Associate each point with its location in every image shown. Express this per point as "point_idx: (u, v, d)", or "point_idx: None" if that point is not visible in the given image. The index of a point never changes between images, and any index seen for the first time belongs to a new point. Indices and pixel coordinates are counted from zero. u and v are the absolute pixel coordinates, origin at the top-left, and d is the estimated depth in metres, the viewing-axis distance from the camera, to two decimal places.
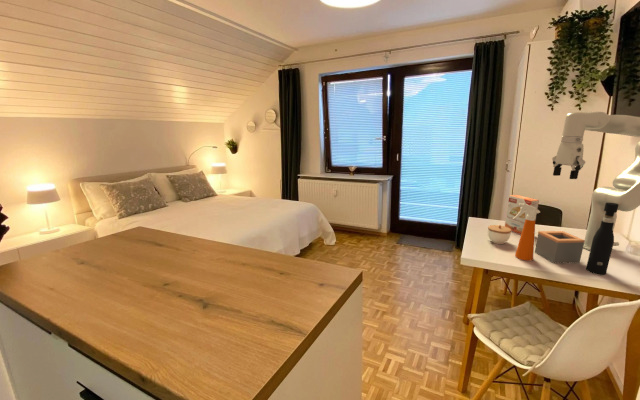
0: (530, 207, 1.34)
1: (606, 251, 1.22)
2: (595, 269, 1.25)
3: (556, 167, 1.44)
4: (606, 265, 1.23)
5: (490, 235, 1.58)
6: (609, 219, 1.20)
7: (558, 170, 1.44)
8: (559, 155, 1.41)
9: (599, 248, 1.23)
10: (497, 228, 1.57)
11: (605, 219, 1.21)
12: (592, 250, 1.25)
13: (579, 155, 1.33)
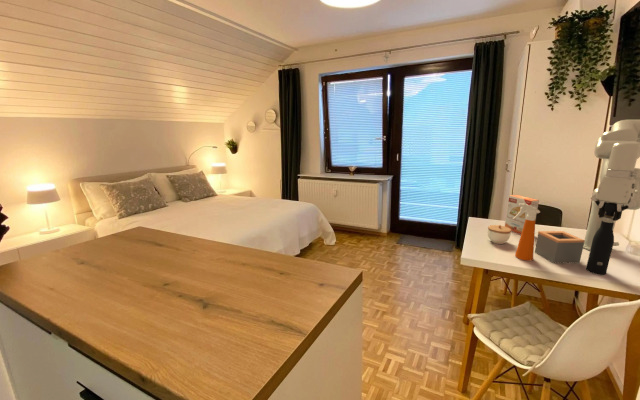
0: (530, 207, 1.34)
1: (606, 251, 1.22)
2: (595, 269, 1.25)
3: (603, 208, 1.22)
4: (606, 265, 1.23)
5: (490, 235, 1.58)
6: (609, 219, 1.20)
7: (604, 211, 1.23)
8: (604, 191, 1.20)
9: (599, 248, 1.23)
10: (497, 228, 1.57)
11: (605, 219, 1.21)
12: (592, 250, 1.25)
13: (632, 192, 1.15)
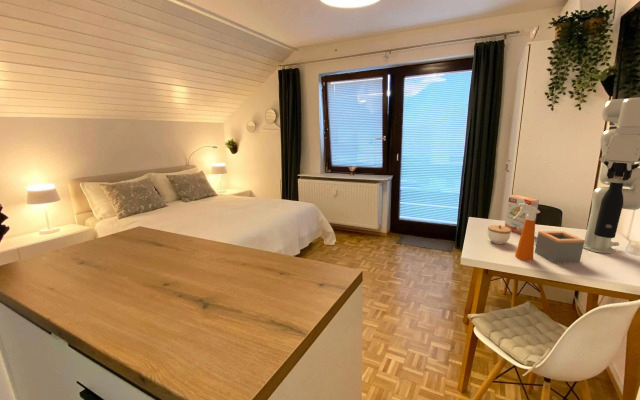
0: (530, 207, 1.34)
1: (615, 213, 1.18)
2: (604, 232, 1.21)
3: (612, 168, 1.18)
4: (615, 228, 1.20)
5: (490, 235, 1.58)
6: (618, 179, 1.16)
7: (613, 172, 1.19)
8: (613, 151, 1.16)
9: (608, 210, 1.19)
10: (497, 228, 1.57)
11: (614, 180, 1.17)
12: (600, 213, 1.22)
13: None
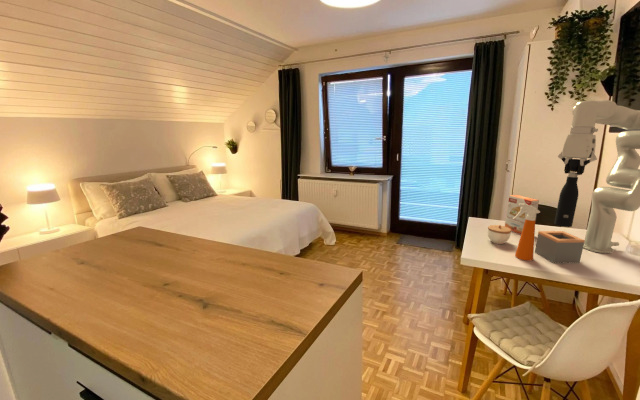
0: (530, 207, 1.34)
1: (571, 204, 1.31)
2: (562, 222, 1.34)
3: (568, 164, 1.32)
4: (571, 217, 1.33)
5: (490, 235, 1.58)
6: (573, 174, 1.30)
7: (569, 167, 1.32)
8: (568, 148, 1.30)
9: (565, 202, 1.32)
10: (497, 228, 1.57)
11: (570, 174, 1.31)
12: (559, 204, 1.35)
13: (593, 147, 1.24)
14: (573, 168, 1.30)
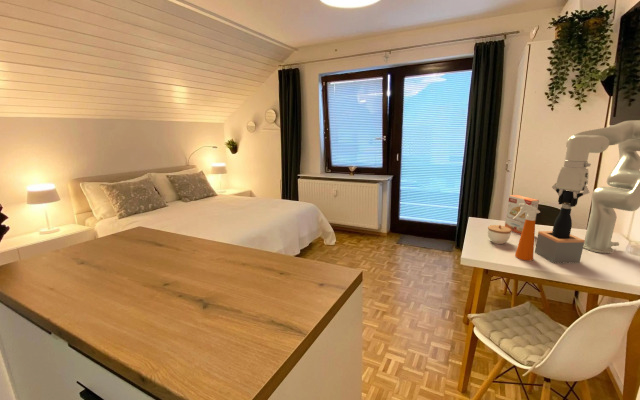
0: (530, 207, 1.34)
1: (564, 234, 1.35)
2: None
3: (562, 195, 1.35)
4: None
5: (490, 235, 1.58)
6: (567, 205, 1.33)
7: (563, 198, 1.36)
8: (562, 180, 1.33)
9: (558, 232, 1.36)
10: (497, 228, 1.57)
11: (563, 205, 1.34)
12: (553, 234, 1.38)
13: (586, 181, 1.28)
14: (566, 200, 1.33)
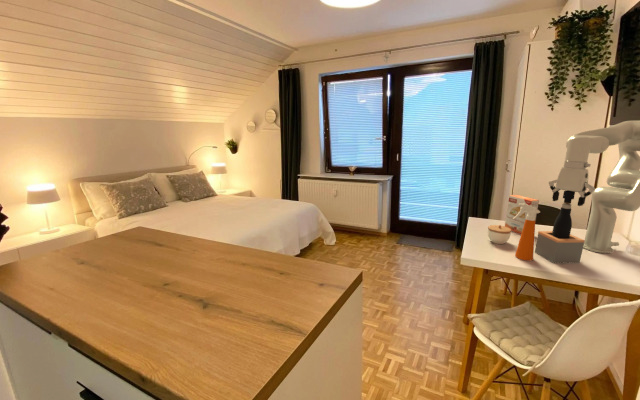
0: (530, 207, 1.34)
1: (564, 234, 1.35)
2: None
3: (556, 192, 1.37)
4: None
5: (490, 235, 1.58)
6: (567, 205, 1.33)
7: (557, 195, 1.38)
8: (562, 181, 1.33)
9: (558, 232, 1.36)
10: (497, 228, 1.57)
11: (563, 205, 1.34)
12: (553, 234, 1.38)
13: (586, 181, 1.28)
14: (566, 200, 1.33)
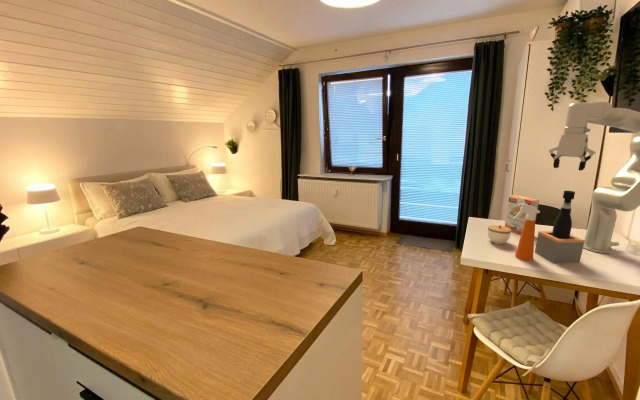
0: (530, 207, 1.34)
1: (564, 234, 1.35)
2: None
3: (557, 159, 1.41)
4: None
5: (490, 235, 1.58)
6: (567, 205, 1.33)
7: (558, 162, 1.42)
8: (563, 147, 1.37)
9: (558, 232, 1.36)
10: (497, 228, 1.57)
11: (563, 205, 1.34)
12: (553, 234, 1.38)
13: (586, 146, 1.32)
14: (566, 200, 1.33)
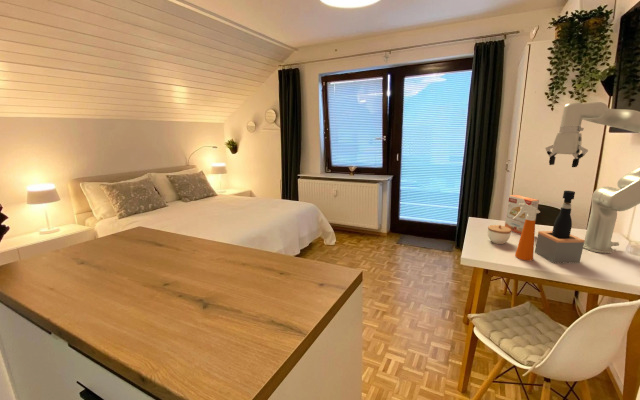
0: (530, 207, 1.34)
1: (564, 234, 1.35)
2: None
3: (552, 157, 1.49)
4: None
5: (490, 235, 1.58)
6: (567, 205, 1.33)
7: (553, 159, 1.50)
8: (558, 145, 1.45)
9: (558, 232, 1.36)
10: (497, 228, 1.57)
11: (563, 205, 1.34)
12: (553, 234, 1.38)
13: (579, 144, 1.40)
14: (566, 200, 1.33)
